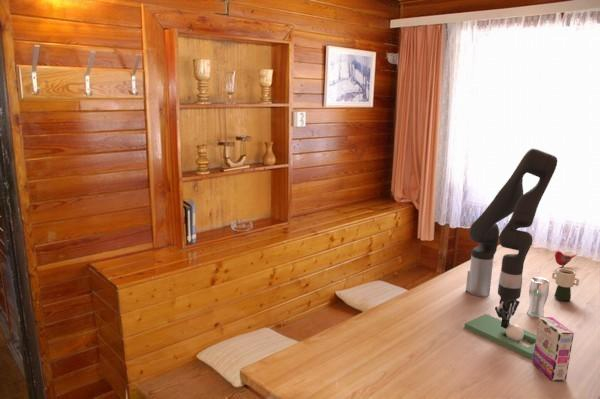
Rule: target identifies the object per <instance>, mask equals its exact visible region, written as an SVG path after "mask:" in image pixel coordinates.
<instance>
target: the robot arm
mask: <svg viewBox="0 0 600 399" xmlns="http://www.w3.org/2000/svg"><path fill="white" fill-rule="evenodd" d="M557 164H558V158H557V156H555V155H553V154H550V153H548V152H545V151H544V150H541V149H538V148H534V147H533V148H530V149H529V150H528V151H526V153H525V154H524V156H523V157H522V158H521V160H520V161H519V163H518V164H517V166H516V168H515V169H514V171H513V173H512V174H511V176H510V177H509V178H508V180H507V181H506V182H505V183H504V185H503V186H502V187H501V188H500V190H499V191H498V192H497V193H496V195H495V196H494V198H493V200H492V201H491V202H490V204H489V205H488V206H487V207H486V209H485V210H484V211H483V212H482V213H481V214H480V215H479V216H478V217H477V219H475V221H474V222H472V224H471V225H470V228H469V237H470V240H471V241H473V242H475V243H479V244H478V245H477V246H475V247H473V248H472V250H471V254H470V255H471V256H470V266H469V270H468V271H467V276H466V283H465V284H466V287H465V292H466V291H467V292H468V293H469V295H470V294H471V295H472V296H476V297H484V298H485V297H488V296H489V295H490V293H491V292H490V291H491V284H492V275H493V268H494V258H495V257H494V256H495V254H496V252H497V248H498V242H499V245H500V246H501V247H502V248H505V249H509V250H510V249H511V250H514V251H518V253H509V254H508V253H507V254H504V255H503V257H502V260H501V268H500V272H499V273H500V274H499V278H498V286H497V294H498V296H499V297H500V300H499V305H498V306H497V305H496V306H494V310H495V312H496V315H497V318H498V317H499V318H500V319H501V320H502V322H501V327H503V328H505V329H506V328H507V327H508V326H509V324H510V321H511V320H510V319H512V316H514V315H515V313H516V311H517V309H518V307H519V305H520V301H519V300H518V299H520V297H521V293H522V286H523V271H524V264H525V261H526V257H527V255H528V252H529V251H530V249H531V247H532V245H533V243H534V242H533V240H534V239H533V236H532V234H531V233H530V232H528V231H523V230H519V229H521V228H523V229H524V228H530V227H531V226H532V225H533V223H534V219H535V216H536V213H537V210H538V208H539V205H540V202H541V200H542V199H543V198H542V197H543V196H544V194H545V192H546V190H547V188H548V185H549V184H550V182H551V179H552V178H553V175H554V174H555V171H556V168H557V166H558V165H557ZM526 174H530V175H532V176H535V177H537V178H539V180H538V181H537V182H536V184H535V185H534V186H533V187H532V188H530V190H528V191H527V192H525V193H524V186H523V179H524V176H525V175H526ZM511 214H512V216H511V218H510V220H509V221H508V222H507V224H506V225H505V226H504V228H503V229H502V230H501V232H500V228H499V225H498V224H497V223H499V222H500V221H502V220H504V219H506V218H507V217H508V216H510V215H511Z"/></svg>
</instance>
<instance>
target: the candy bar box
mask: <svg viewBox="0 0 600 399" xmlns="http://www.w3.org/2000/svg"><path fill="white" fill-rule="evenodd" d="M536 329H537V330H536V335H537V336H536V343H535V350H534V357H533V358H532V363H533V364H534V365H535V366H536V367H537V368H538V369H539V370H540V371H541V372H542V373H544V375H546V377H548V378H549V379H550V380H551V381H552V382H562V381H563V382H564V381H565V382H566V381H567V376H568V370H569V364H570V358H571V354H572V347H573V341H574V340H573V339H574V334H575V333H574V332H572V331H571V330H570V329H569V328H568V327H566V326H564V324H562V323H560V322H559V321H558V320H556V319H555V318H554V317H553V316H552V317H551V316H550V317H547V316H546V317H545V316H544V317H540V318H538V324H537V328H536Z"/></svg>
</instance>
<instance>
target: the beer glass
mask: <svg viewBox="0 0 600 399" xmlns="http://www.w3.org/2000/svg"><path fill="white" fill-rule="evenodd" d="M549 291H550V281H549V280H548V279H546V278H544V277H540V276H539V277H537V276H534V277H531V279H530V283H529V290H528V296H529V297H528V299H529V305H528V309H527V315H528V316H529V317H532V318H536V319H539V318H540V317H545V311H544V308H545V305H546V303H547V300H548V296H549V293H550V292H549Z"/></svg>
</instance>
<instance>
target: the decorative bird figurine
mask: <svg viewBox="0 0 600 399" xmlns="http://www.w3.org/2000/svg"><path fill="white" fill-rule="evenodd" d="M577 255H578V254H577V253H576V254H574V255H568V254H564V253H563V252H562V251H560V250H557V251H556V252H555V254H554V258H555V262H556V264H558V266H559V269H561V268H563V269H565V266H566V265H567V264H568V263H570V262H571V260H572V259H573V258H574V257H576V256H577Z"/></svg>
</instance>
